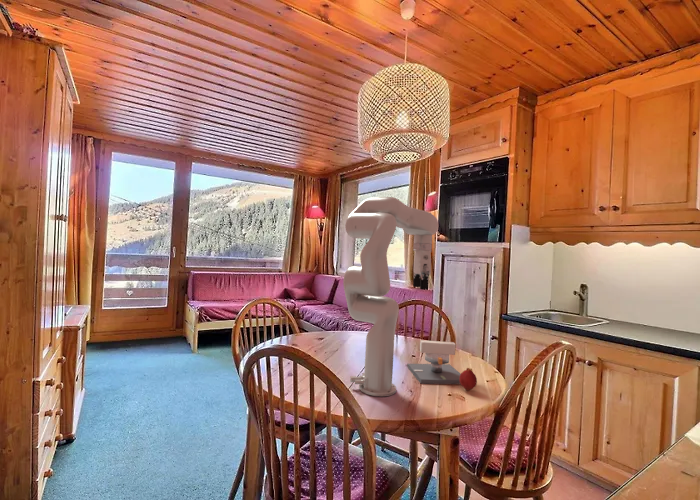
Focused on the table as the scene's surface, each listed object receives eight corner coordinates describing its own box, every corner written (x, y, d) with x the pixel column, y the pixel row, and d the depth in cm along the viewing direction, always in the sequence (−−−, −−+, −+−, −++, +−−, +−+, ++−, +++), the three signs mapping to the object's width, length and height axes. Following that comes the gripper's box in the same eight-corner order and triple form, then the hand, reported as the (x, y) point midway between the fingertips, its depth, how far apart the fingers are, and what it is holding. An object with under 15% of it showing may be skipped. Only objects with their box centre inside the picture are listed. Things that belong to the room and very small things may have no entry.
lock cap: (458, 366, 132) (459, 348, 132) (422, 364, 133) (423, 345, 133) (450, 358, 143) (451, 340, 143) (418, 355, 144) (419, 338, 144)
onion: (462, 386, 129) (463, 363, 129) (478, 390, 125) (479, 367, 125) (456, 390, 124) (457, 367, 124) (472, 395, 121) (473, 371, 121)
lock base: (420, 383, 129) (421, 368, 129) (407, 367, 147) (408, 353, 147) (468, 384, 131) (469, 369, 131) (449, 367, 149) (450, 354, 149)
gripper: (438, 248, 143) (435, 290, 143) (424, 248, 161) (422, 286, 161) (420, 247, 143) (417, 290, 143) (408, 247, 160) (406, 285, 160)
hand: (420, 288), depth 152 cm, fingers open, 9 cm apart
